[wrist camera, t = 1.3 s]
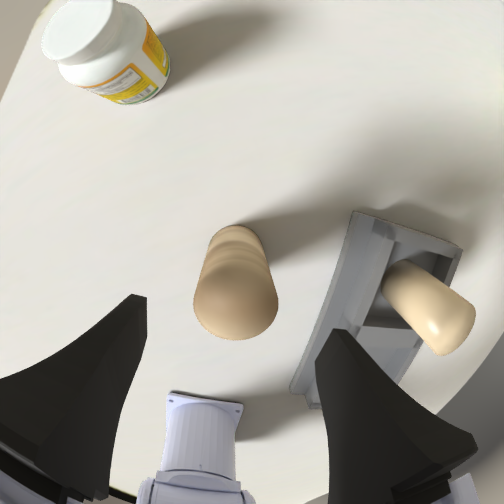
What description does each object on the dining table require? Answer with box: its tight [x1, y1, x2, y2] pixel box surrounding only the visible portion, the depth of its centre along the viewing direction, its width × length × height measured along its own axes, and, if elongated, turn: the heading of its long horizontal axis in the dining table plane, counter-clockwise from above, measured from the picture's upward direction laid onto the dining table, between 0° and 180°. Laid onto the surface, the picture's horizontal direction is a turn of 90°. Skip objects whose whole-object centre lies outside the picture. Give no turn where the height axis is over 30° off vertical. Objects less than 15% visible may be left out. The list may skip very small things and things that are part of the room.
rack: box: [289, 211, 476, 409], centre depth 19 cm, size 18×12×9 cm, turn 167°
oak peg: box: [193, 225, 278, 340], centre depth 17 cm, size 4×4×8 cm
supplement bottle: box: [42, 0, 170, 105], centre depth 11 cm, size 5×5×10 cm
